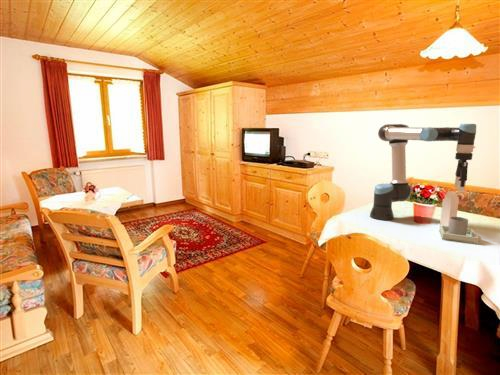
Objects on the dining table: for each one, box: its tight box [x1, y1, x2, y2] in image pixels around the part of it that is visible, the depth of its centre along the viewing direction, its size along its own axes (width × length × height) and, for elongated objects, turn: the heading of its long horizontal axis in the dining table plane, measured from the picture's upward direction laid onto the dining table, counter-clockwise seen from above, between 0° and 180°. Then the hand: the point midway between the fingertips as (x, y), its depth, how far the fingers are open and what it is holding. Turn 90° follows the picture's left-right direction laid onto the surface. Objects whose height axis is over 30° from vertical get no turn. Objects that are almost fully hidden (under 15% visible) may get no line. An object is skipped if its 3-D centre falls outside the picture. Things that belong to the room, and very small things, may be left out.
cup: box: [448, 216, 469, 236], centre depth 166 cm, size 8×8×10 cm
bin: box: [438, 224, 479, 245], centre depth 167 cm, size 16×16×4 cm
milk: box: [439, 190, 460, 226], centre depth 186 cm, size 6×6×22 cm
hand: (458, 190), depth 165 cm, fingers open, 13 cm apart
